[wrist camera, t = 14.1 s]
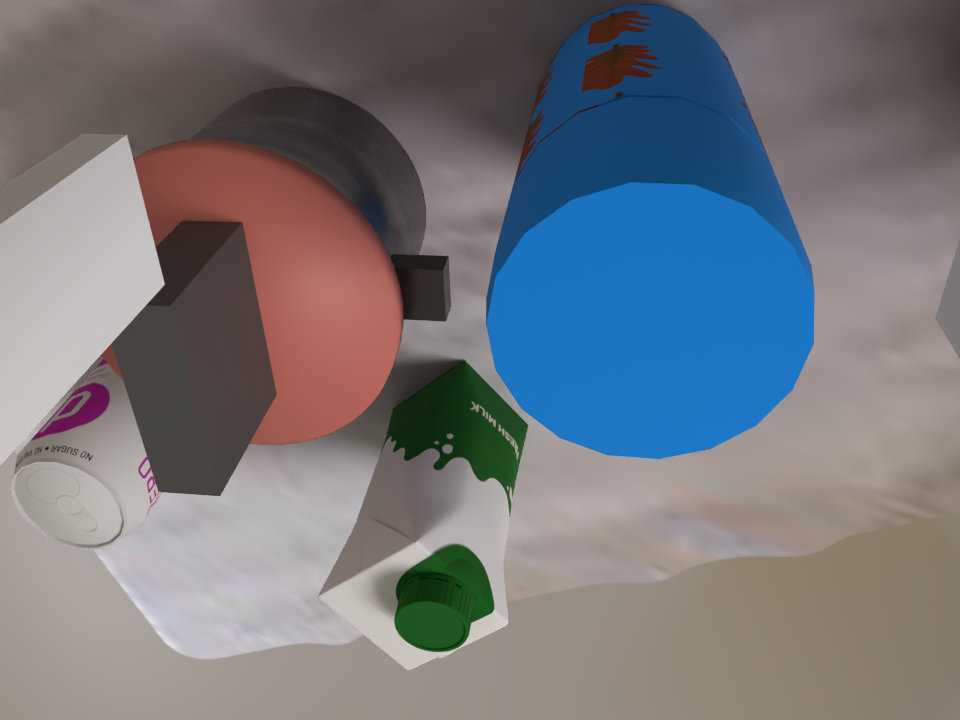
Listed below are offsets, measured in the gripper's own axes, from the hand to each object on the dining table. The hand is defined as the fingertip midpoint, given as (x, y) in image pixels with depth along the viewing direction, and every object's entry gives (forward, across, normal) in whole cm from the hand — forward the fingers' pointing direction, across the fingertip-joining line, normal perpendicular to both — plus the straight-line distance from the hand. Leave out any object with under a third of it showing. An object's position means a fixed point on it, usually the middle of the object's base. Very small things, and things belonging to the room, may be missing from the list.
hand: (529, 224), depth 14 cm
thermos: (+37, -3, +9) cm, 38 cm away
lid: (+25, +17, +16) cm, 34 cm away
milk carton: (+37, +8, +32) cm, 49 cm away
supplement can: (+37, +29, +29) cm, 55 cm away
